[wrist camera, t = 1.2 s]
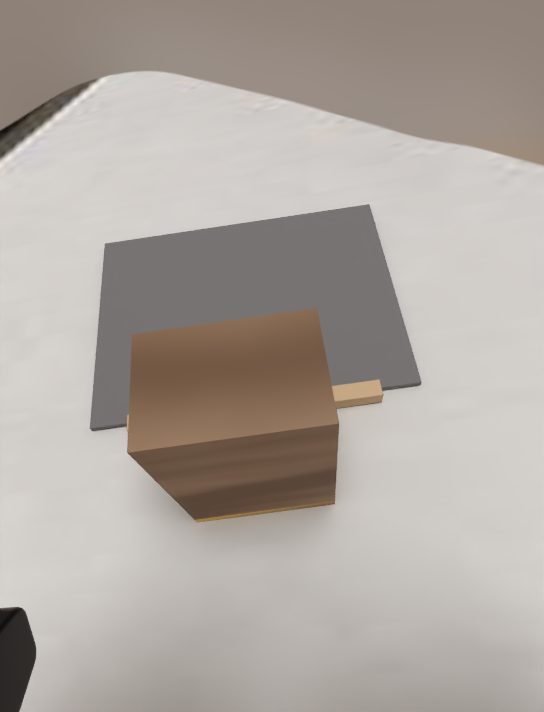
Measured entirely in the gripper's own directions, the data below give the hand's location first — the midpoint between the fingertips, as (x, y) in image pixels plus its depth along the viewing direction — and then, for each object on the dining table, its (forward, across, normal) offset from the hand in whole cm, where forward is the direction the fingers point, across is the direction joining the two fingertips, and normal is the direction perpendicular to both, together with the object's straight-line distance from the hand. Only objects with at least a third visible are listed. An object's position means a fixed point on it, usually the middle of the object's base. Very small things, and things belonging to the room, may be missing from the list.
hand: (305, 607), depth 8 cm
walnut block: (+14, +2, +6) cm, 15 cm away
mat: (+21, +2, -1) cm, 21 cm away
